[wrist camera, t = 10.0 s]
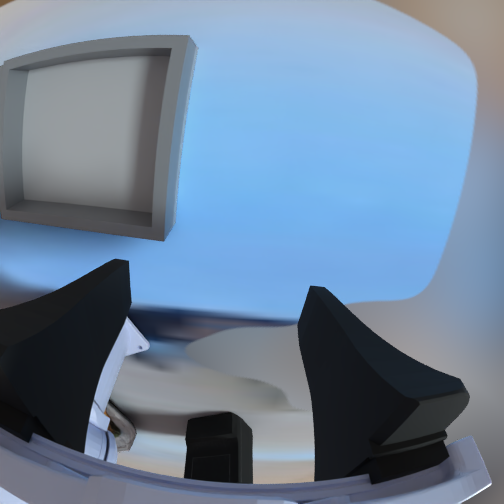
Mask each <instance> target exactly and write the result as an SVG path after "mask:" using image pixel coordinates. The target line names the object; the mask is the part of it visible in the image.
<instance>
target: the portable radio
mask: <svg viewBox="0 0 504 504" xmlns="http://www.w3.org/2000/svg"><path fill="white" fill-rule="evenodd" d="M185 440H186V446H187V453H186V463H185V472H184V478H185V479H192V480H200V481H209V482H221V483H237V484H253V457H252V444H253V435H252V429H251V428H250V427H249V426H248V425H247V424H246V423H245V422H244V421H243V419H242V418H240V417H239V416H237V415H234V414H232V413H225V414H220V415H214V416H208V417H202V418H195V419H190V420H188V424H187V430H186V438H185Z"/></svg>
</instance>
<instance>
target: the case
mask: <svg viewBox="0 0 504 504" xmlns="http://www.w3.org/2000/svg"><path fill="white" fill-rule="evenodd" d="M197 52H198V47H197V46H196V44H195V43H194V41H193V40H192V39H191V37H190V36H189V35H146V36H128V37H116V38H107V39H98V40H91V41H84V42H78V43H73V44H67V45H62V46H58V47H53V48H49V49H45V50H41V51H37V52H33V53H29V54H26V55H22V56H19V57H16V58H13V59H10V60H7V61H4V66H3V72H2V78H1V85H0V211H1V218H2V219H6V220H14V221H21V222H28V223H35V224H42V225H49V226H56V227H63V228H70V229H77V230H85V231H92V232H99V233H106V234H113V235H120V236H128V237H135V238H142V239H149V240H156V241H165V239H166V237H167V236H168V234H169V232H170V231H171V229H172V227H173V226H174V224H175V220H176V207H177V194H178V183H179V173H180V164H181V155H182V146H183V138H184V131H185V123H186V116H187V110H188V103H189V97H190V91H191V85H192V79H193V73H194V68H195V62H196V57H197Z"/></svg>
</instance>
